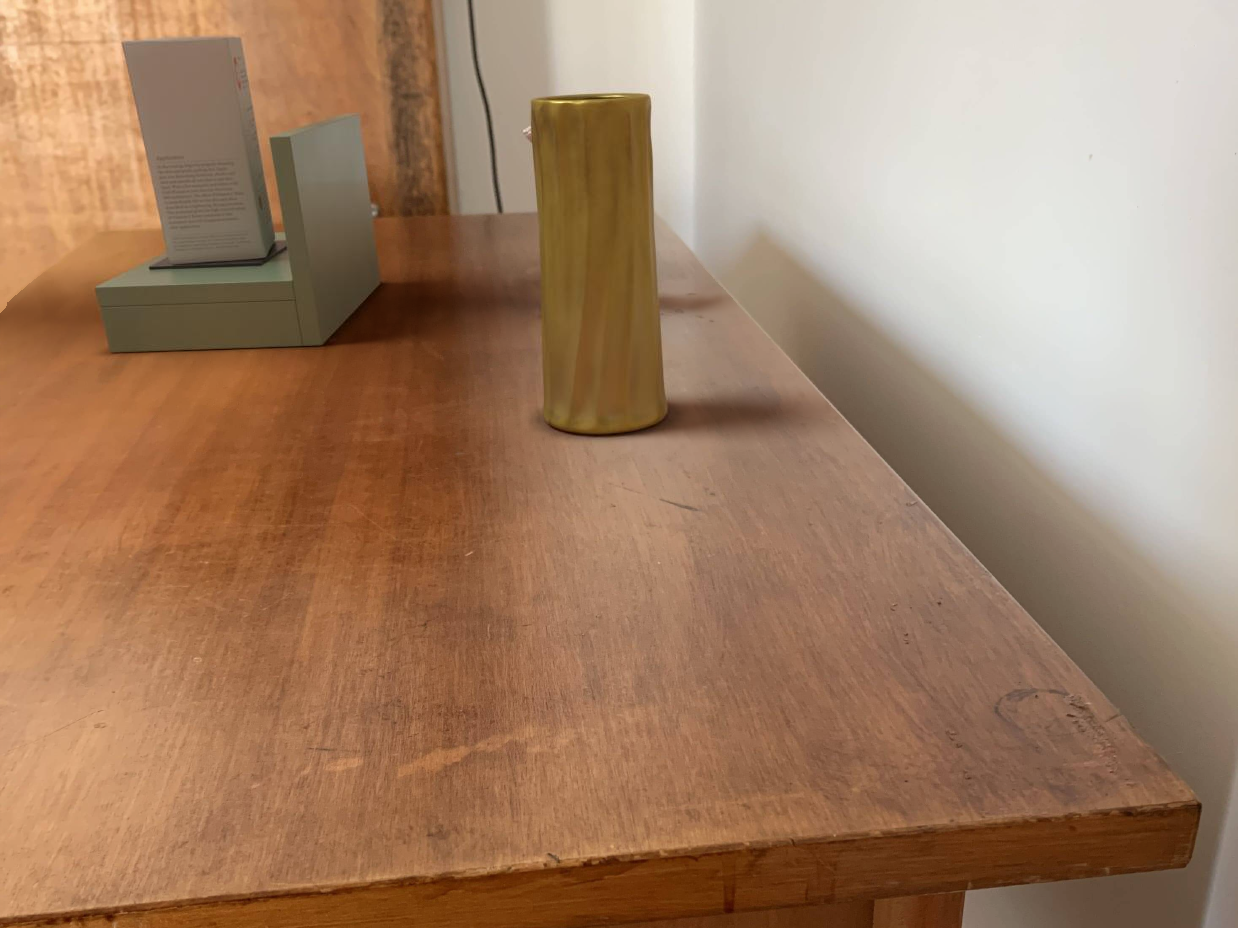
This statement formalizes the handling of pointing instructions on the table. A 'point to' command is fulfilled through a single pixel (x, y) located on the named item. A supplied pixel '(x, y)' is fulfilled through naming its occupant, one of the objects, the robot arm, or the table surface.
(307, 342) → the green l-shaped stand
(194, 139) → the small box
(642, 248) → the vase
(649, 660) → the table surface
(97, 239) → the table surface
